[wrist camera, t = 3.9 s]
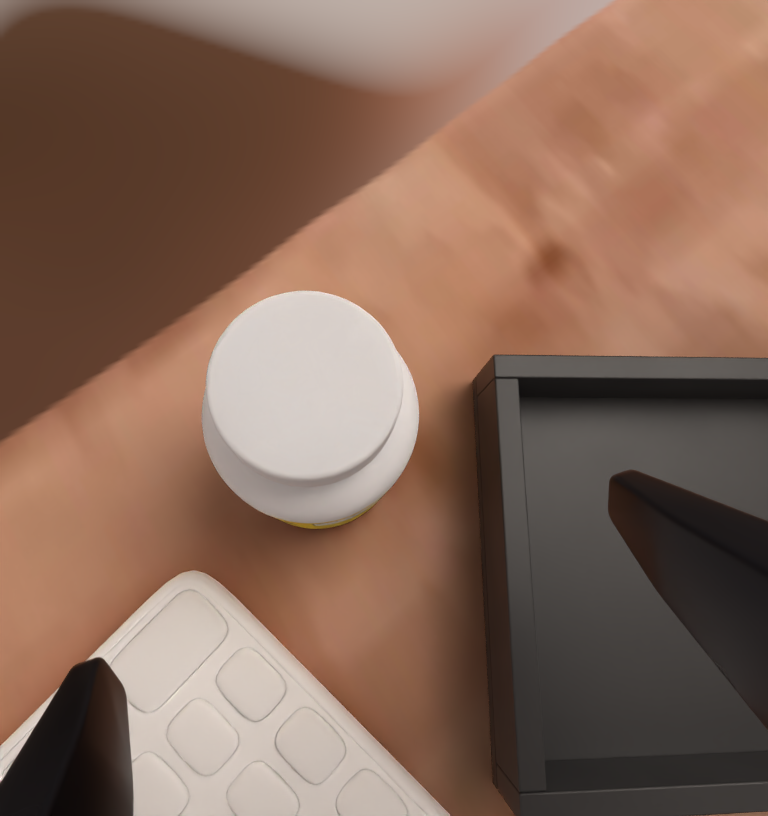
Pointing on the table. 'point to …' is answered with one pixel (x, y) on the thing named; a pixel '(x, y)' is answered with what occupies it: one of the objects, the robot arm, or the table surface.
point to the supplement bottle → (309, 409)
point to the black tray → (610, 584)
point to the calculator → (236, 719)
